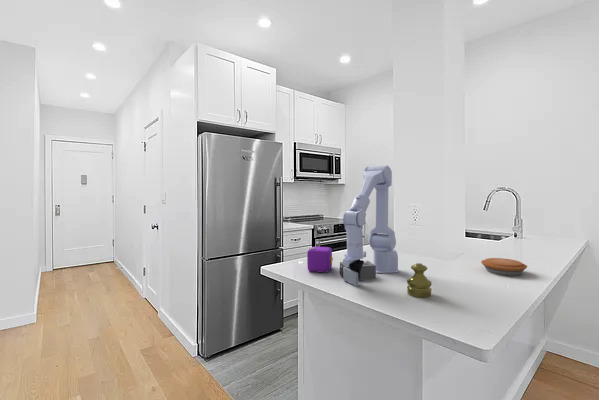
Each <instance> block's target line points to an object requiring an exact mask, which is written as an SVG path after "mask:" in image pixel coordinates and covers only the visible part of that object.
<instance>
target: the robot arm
mask: <svg viewBox="0 0 599 400" xmlns="http://www.w3.org/2000/svg"><path fill="white" fill-rule="evenodd" d="M362 174H363V184H362V186H361V189H360V191H359V192H360V193H359V194H357V195H355V196H354V199H353V201H352V204H351V206H350V208H349V210H347V211H345V212H344V213H343V217H342V223H343V226H344V230H345V231H346V232H345V233H346V253H345V254H344V255H343V256H344V258H343V259H342V262H343V265H349V267H350V269H351V270H353V271H355V272H357V273H358V281H360V280H361V279H360V271H361V268H362V266H363V264H364V261H365V260H363V259H364V258H367V251H364V239H363V238H364V237H363V231H364V230H363V226H364V225H365V224H366V217H367V209H368V208H369V205H370V203H371V199H370V196H371V194H372V192H373V190H374V189H375V226H374V227H373V228H372V229H371V230H370V233H369V239H368V243H369V247H370V248H371V250H373V264H374V265H376V274H390V273H399V272H400V271H399V255H398V252H397V250H396V249H395V248H396V245H397V240H396V233H395V231H394V230H393V229H392V228H391V227H390V226H389V187H391V186H392V183H393V173H392V169H391V168H390V166H389V165H381V166H366V167H365V168H364V170H363V173H362Z"/></svg>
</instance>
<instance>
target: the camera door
mask: <svg viewBox="0 0 599 400" xmlns="http://www.w3.org/2000/svg"><path fill="white" fill-rule="evenodd" d="M343 276H344V278H343V281H345V282H347V283H349V284H351V285H353V286H355V287H358V286H359V280H358V273H357V272H355V271H353V270H351V269H348V268H347V267H343Z"/></svg>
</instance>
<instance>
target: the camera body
mask: <svg viewBox="0 0 599 400" xmlns="http://www.w3.org/2000/svg"><path fill="white" fill-rule="evenodd" d="M363 261H364V264H363V266H362V268H361V271H360V279H359V280H371V279H372V280H375V279H376V278H377V273H376V265H374V263H372V262H371V261H369V260H363ZM343 267H347V268H348V269H350V267H349V265H343V261H340V262H339V269H338V270H339V275H340V277H342V278H343V279H344V276H343Z"/></svg>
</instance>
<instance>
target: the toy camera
mask: <svg viewBox="0 0 599 400" xmlns="http://www.w3.org/2000/svg"><path fill="white" fill-rule="evenodd" d="M306 257H307V258H306V259H307V260H306V261H307V262H306V263H307V271H308V272H313V273H315V272H316V273H328V272H330V271H331V269H332V267H333V260H334V257H333V249H332V248H331V247H330V246H329V247H328V246H312V247H310V248H309V249H308V250H307V254H306Z"/></svg>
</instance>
